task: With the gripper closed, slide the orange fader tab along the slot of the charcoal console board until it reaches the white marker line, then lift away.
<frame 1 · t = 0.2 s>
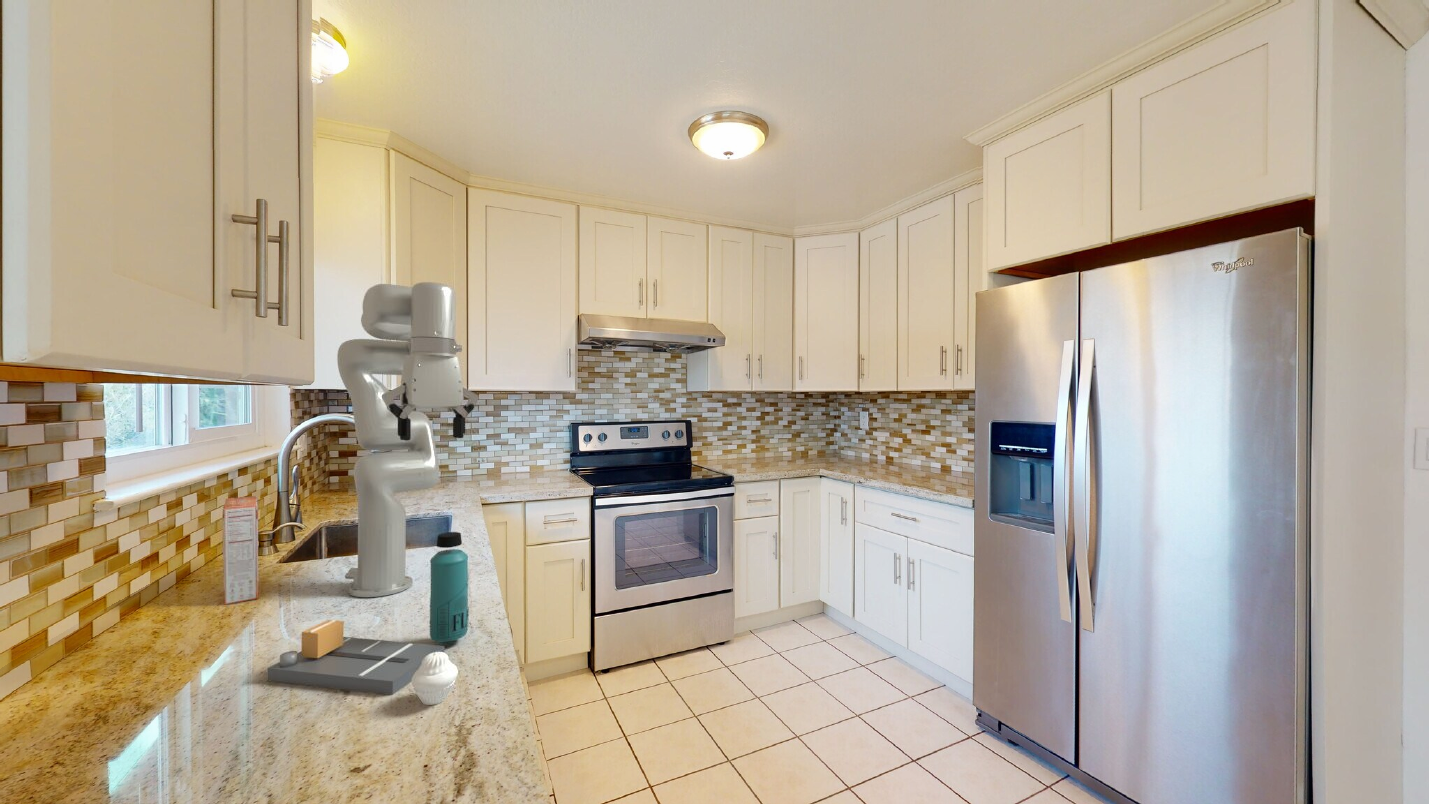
hand: (432, 438, 105), 37 cm above the countertop, tool pointing down, fingers open, 9 cm apart
fader tab: (323, 637, 91), point 4 cm above the countertop, slide at 0.0 cm
cracker box: (240, 594, 123), on the countertop
beverage bottle: (448, 643, 100), on the countertop
console board: (359, 668, 90), on the countertop
muffin: (434, 700, 81), on the countertop
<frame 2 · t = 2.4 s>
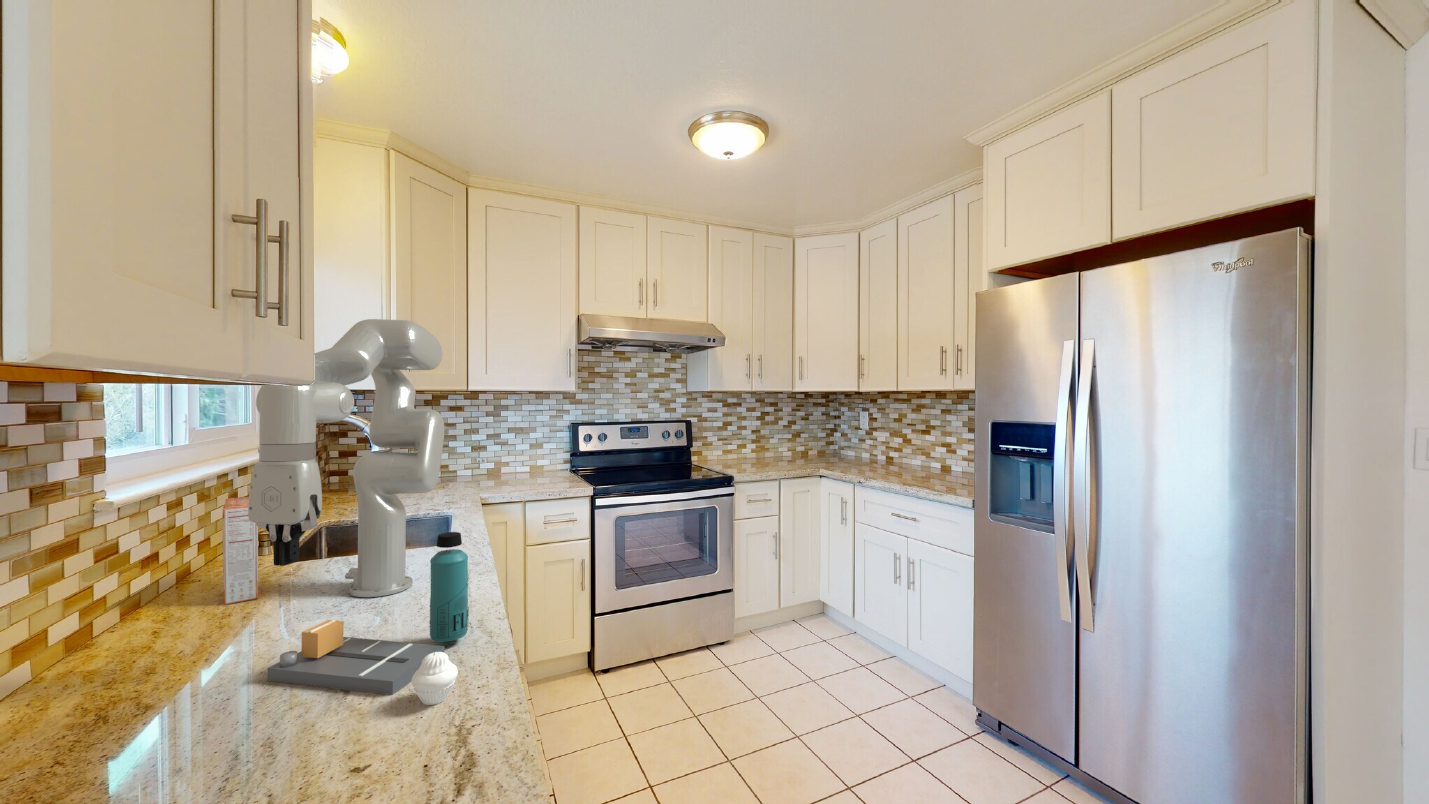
hand: (286, 563, 92), 17 cm above the countertop, tool pointing down, fingers closed
nothing on the countertop moved.
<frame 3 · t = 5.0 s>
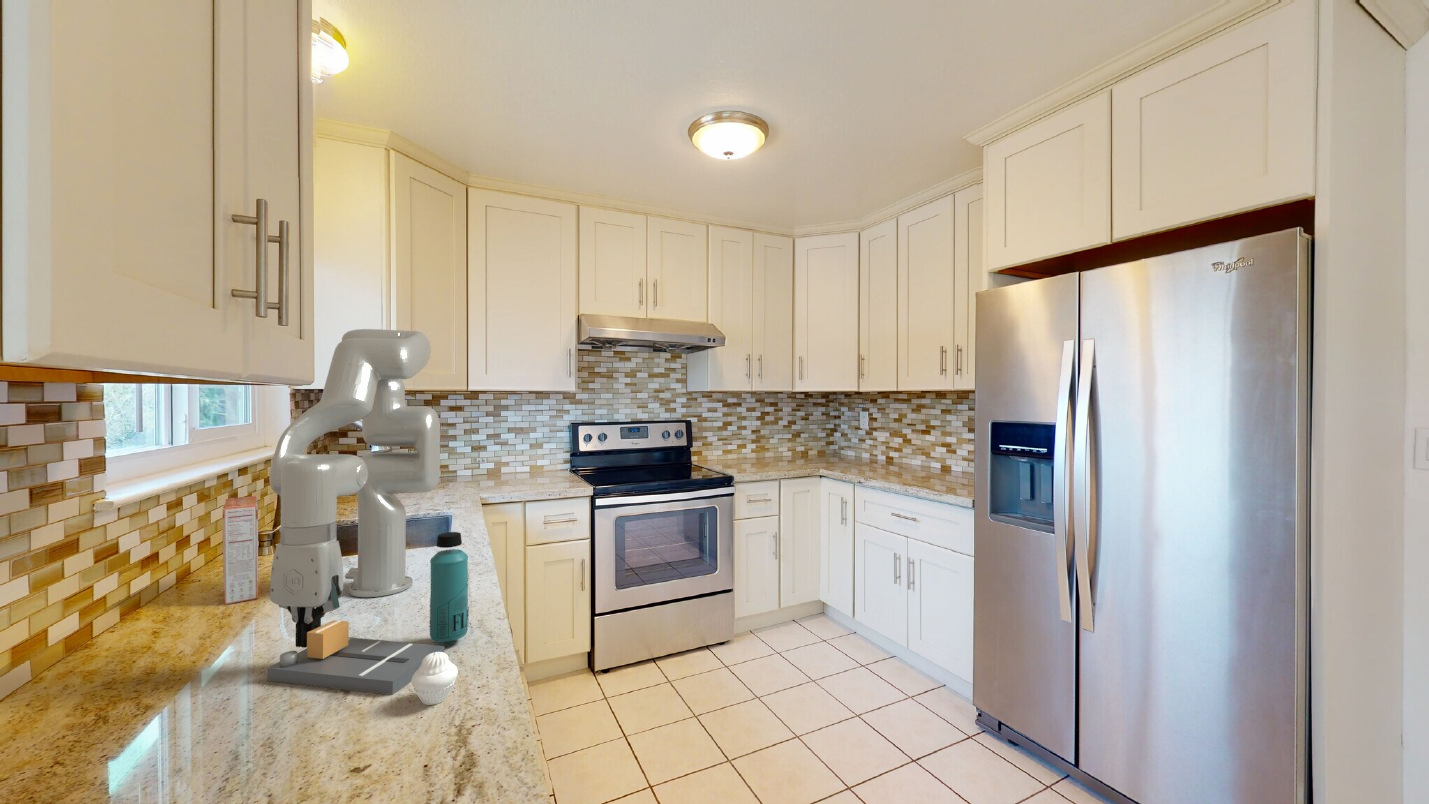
hand: (308, 643, 92), 3 cm above the countertop, tool pointing down, fingers closed
fader tab: (328, 638, 91), point 5 cm above the countertop, slide at 1.0 cm, touching gripper
everything else where it was.
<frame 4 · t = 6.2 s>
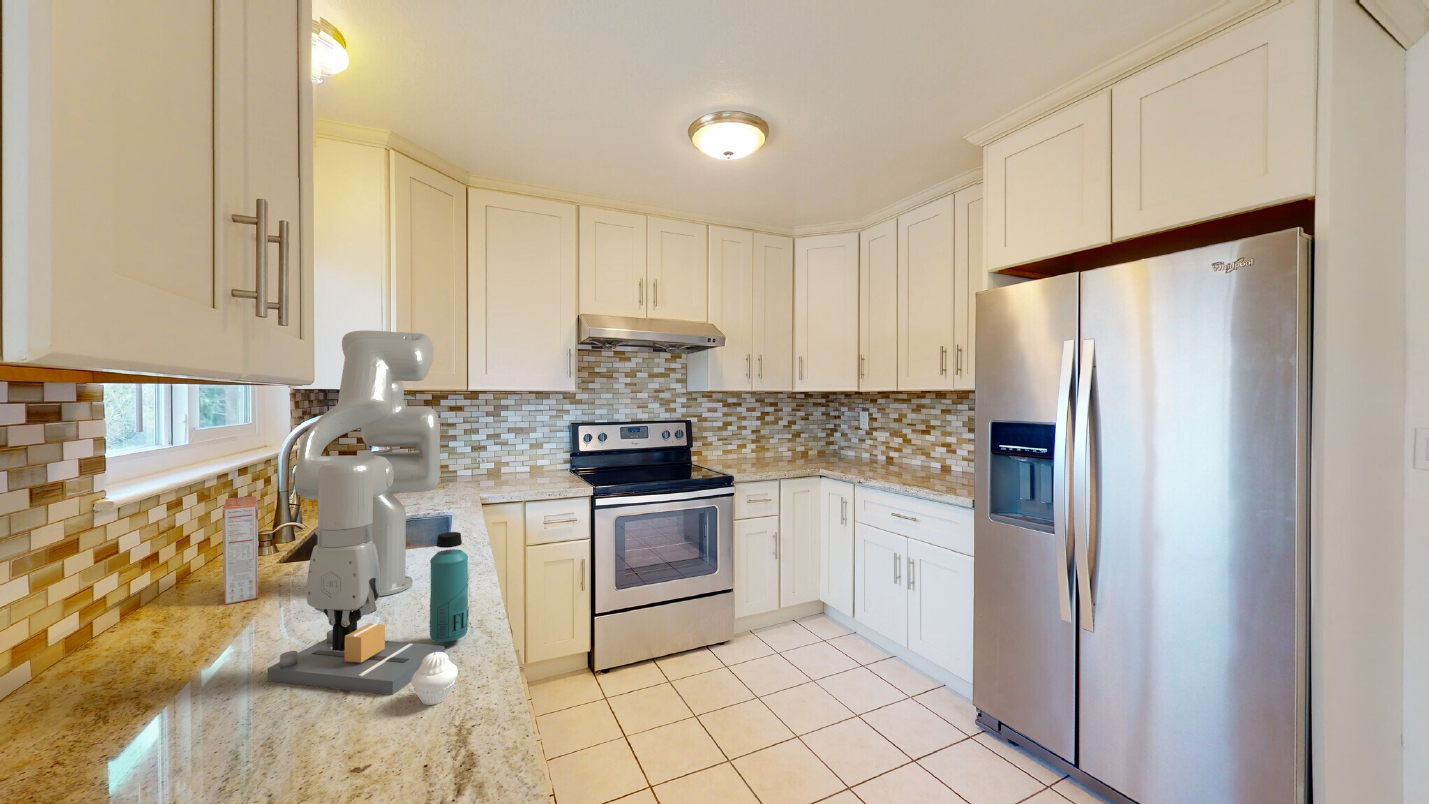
hand: (344, 647, 91), 3 cm above the countertop, tool pointing down, fingers closed
fader tab: (365, 641, 90), point 4 cm above the countertop, slide at 7.9 cm, touching gripper
everything else where it was.
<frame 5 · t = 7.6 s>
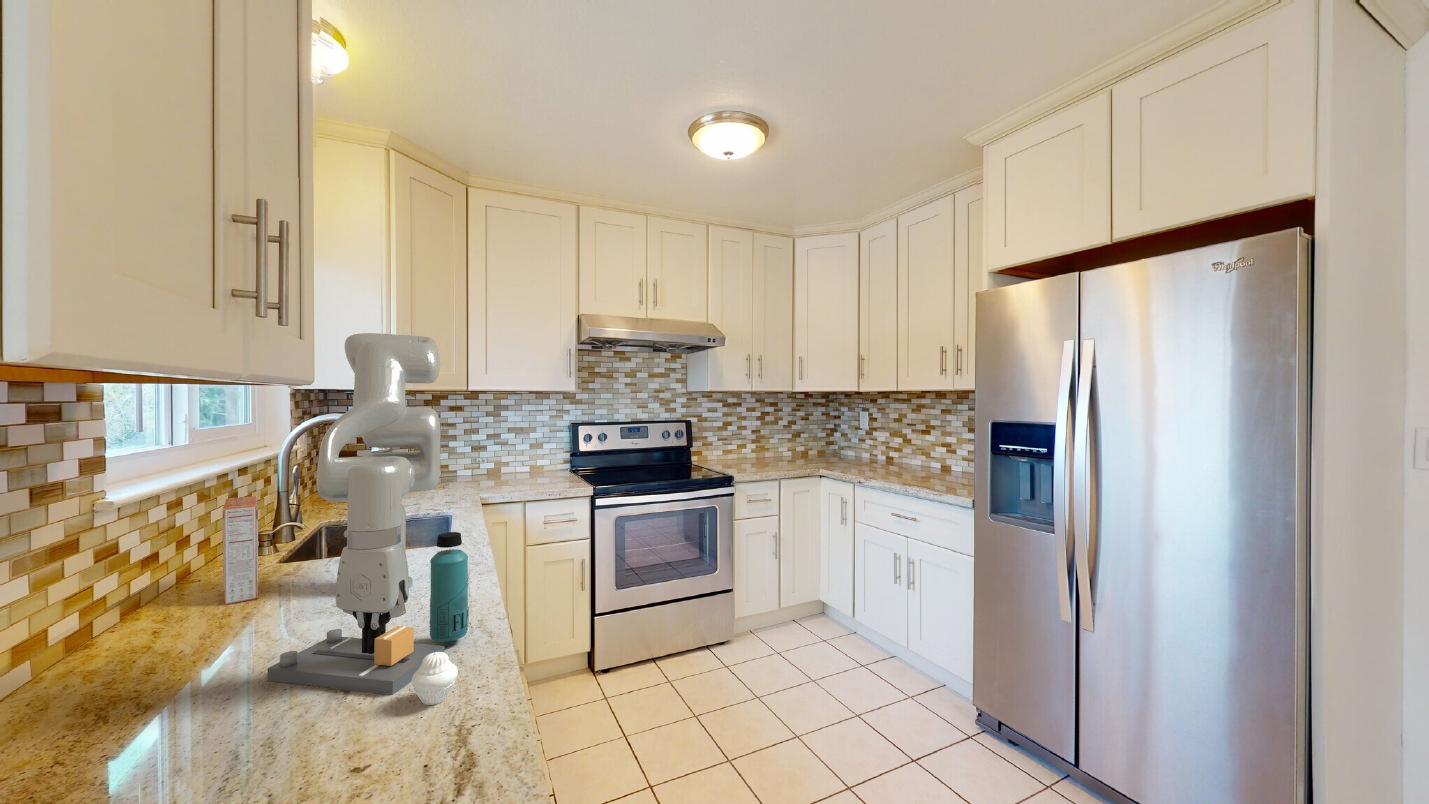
hand: (373, 649, 90), 3 cm above the countertop, tool pointing down, fingers closed
fader tab: (394, 644, 89), point 5 cm above the countertop, slide at 13.3 cm, touching gripper
everything else where it was.
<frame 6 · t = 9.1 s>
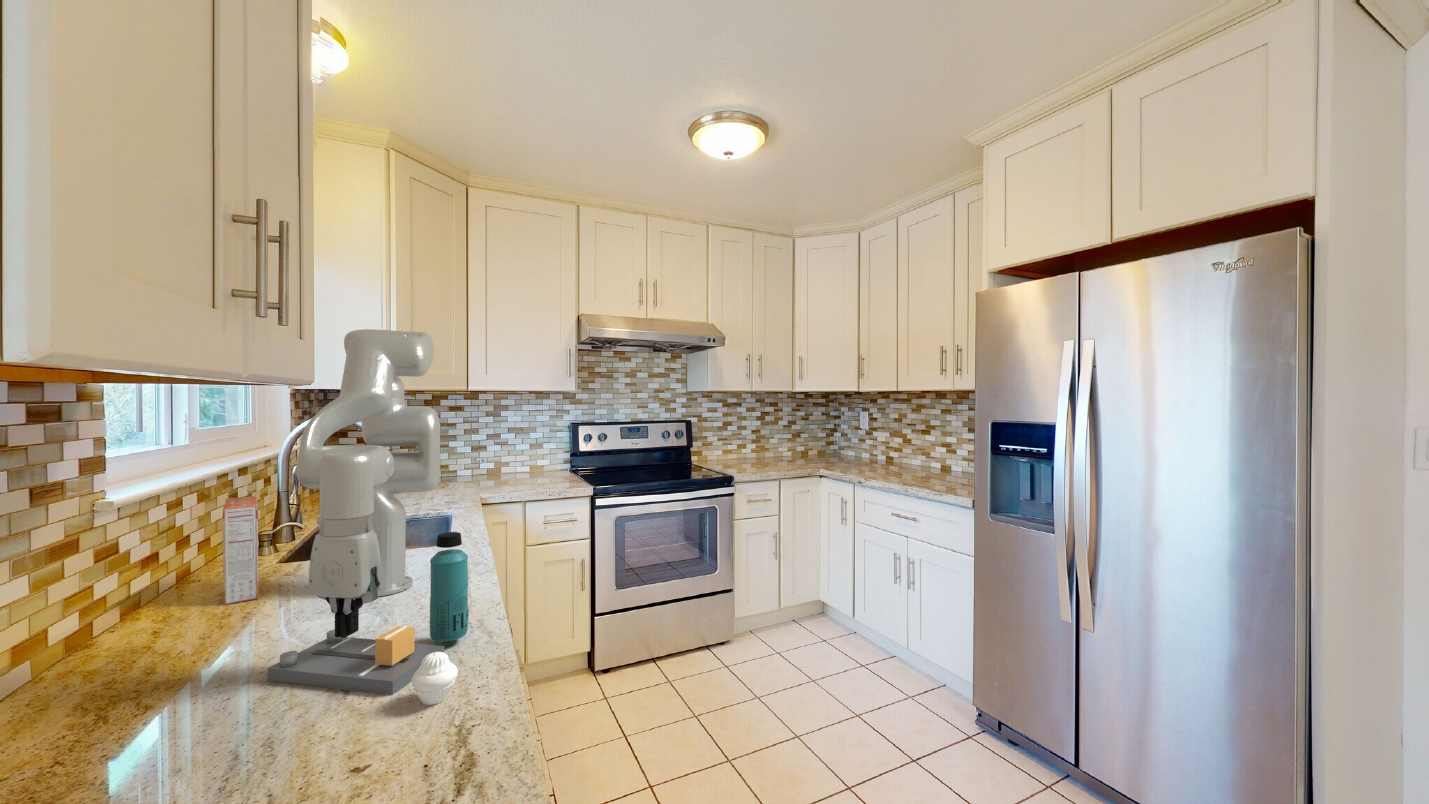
hand: (346, 633, 92), 5 cm above the countertop, tool pointing down, fingers closed
fader tab: (395, 644, 89), point 4 cm above the countertop, slide at 13.5 cm
everything else where it was.
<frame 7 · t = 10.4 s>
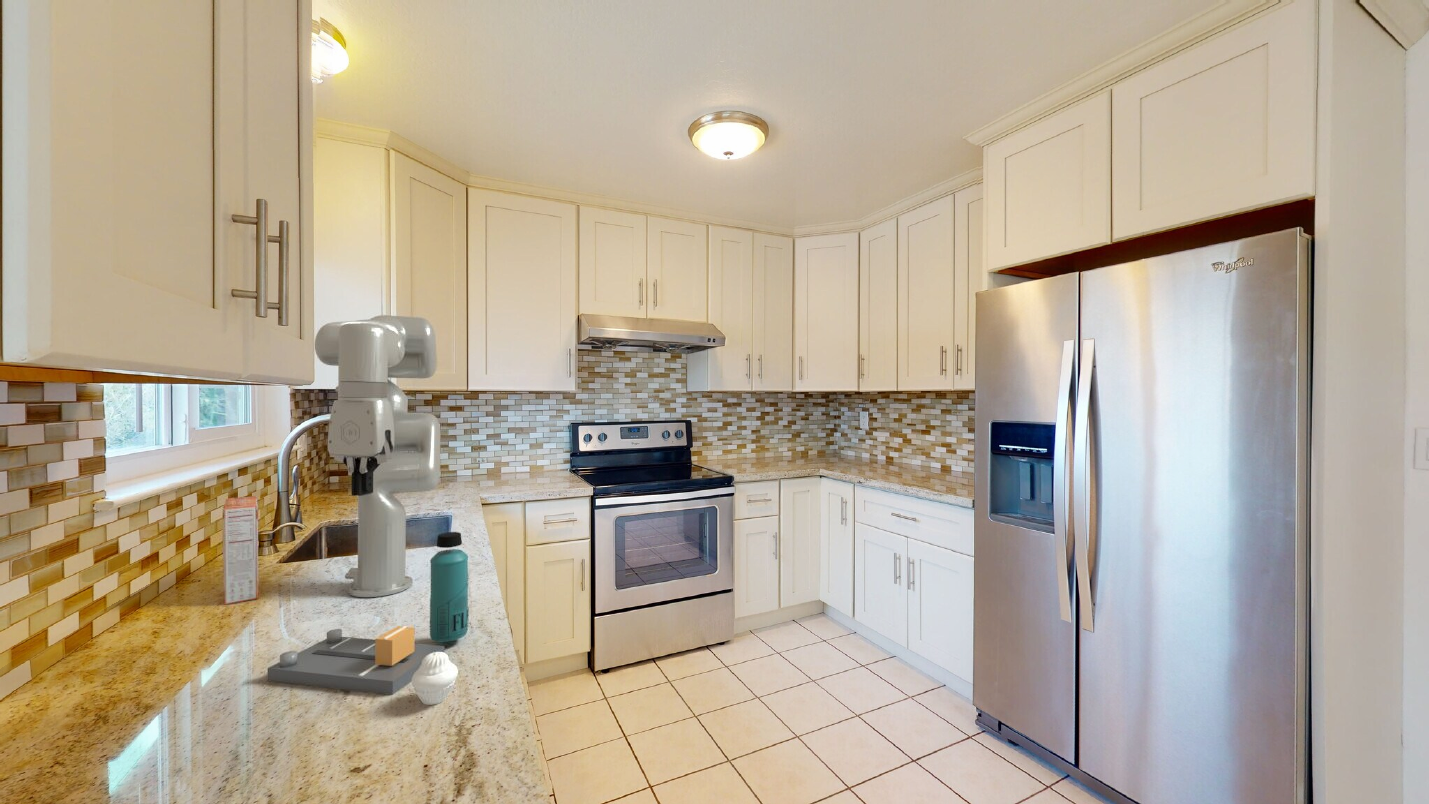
hand: (362, 494, 99), 27 cm above the countertop, tool pointing down, fingers closed
nothing on the countertop moved.
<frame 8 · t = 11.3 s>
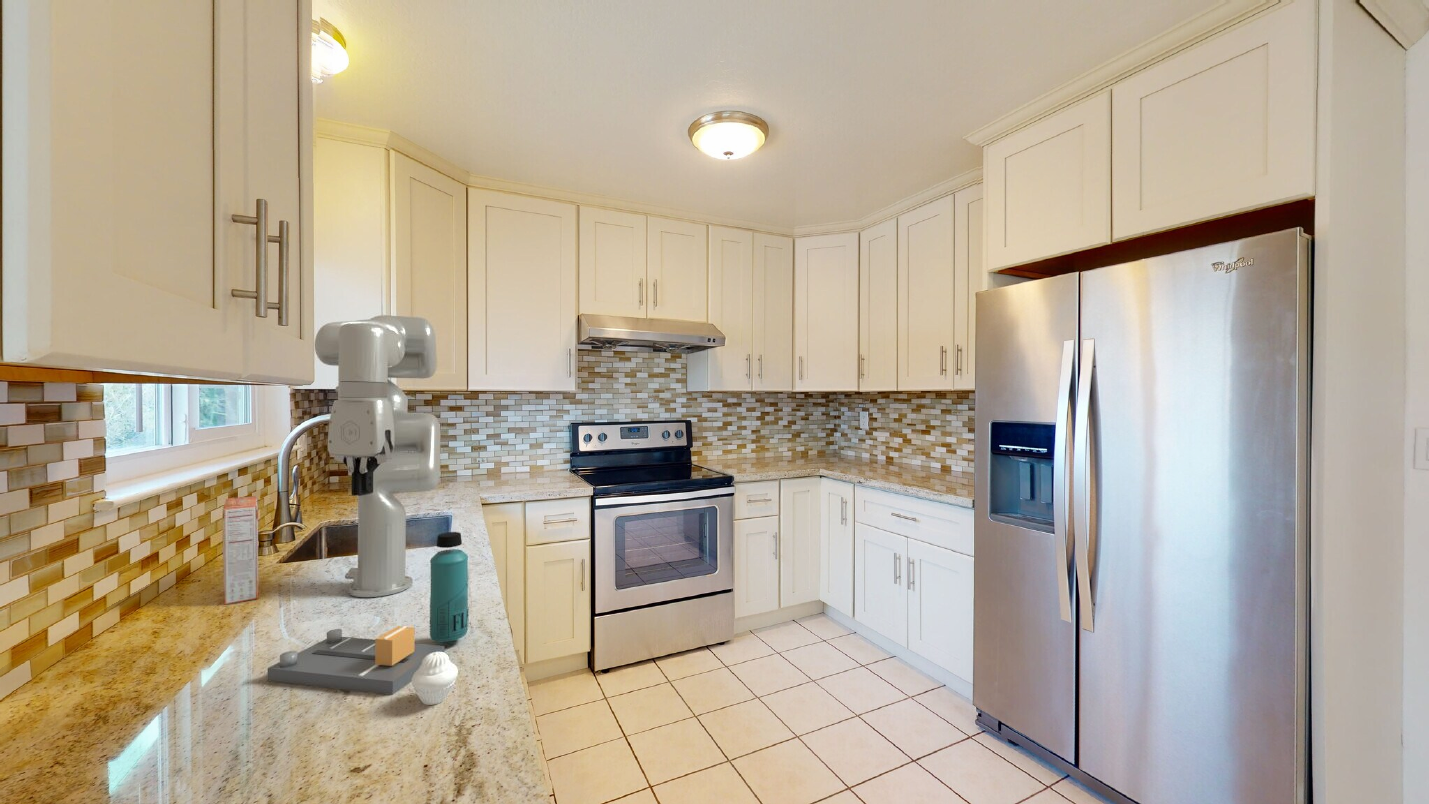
hand: (362, 494, 99), 27 cm above the countertop, tool pointing down, fingers closed
nothing on the countertop moved.
at the end: fader tab slide at 13.5 cm; fader tab moved 13.5 cm from its start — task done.
